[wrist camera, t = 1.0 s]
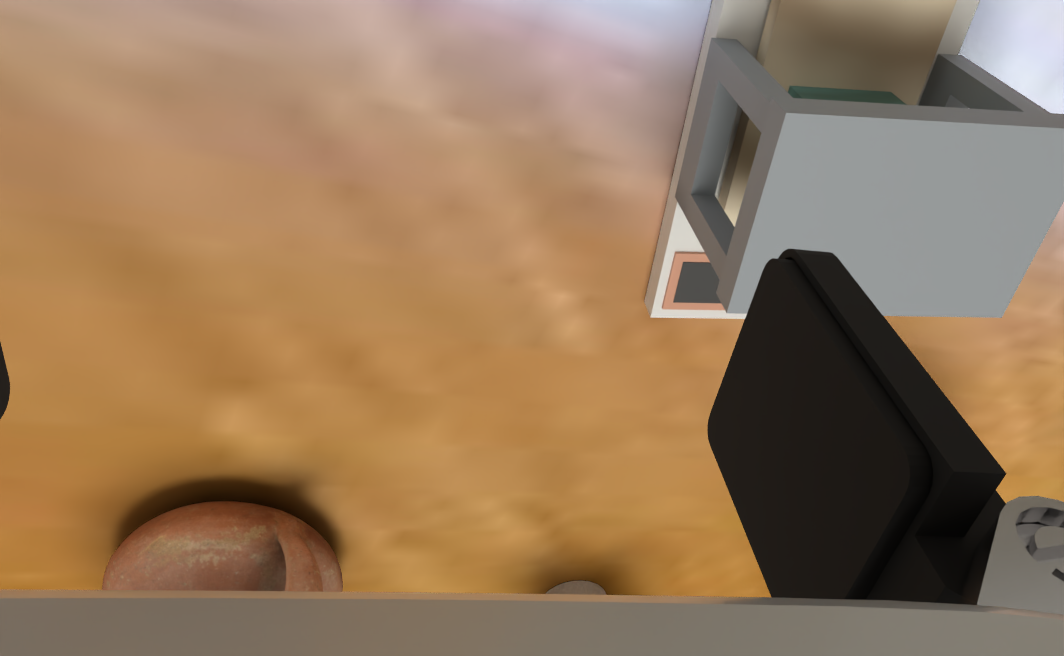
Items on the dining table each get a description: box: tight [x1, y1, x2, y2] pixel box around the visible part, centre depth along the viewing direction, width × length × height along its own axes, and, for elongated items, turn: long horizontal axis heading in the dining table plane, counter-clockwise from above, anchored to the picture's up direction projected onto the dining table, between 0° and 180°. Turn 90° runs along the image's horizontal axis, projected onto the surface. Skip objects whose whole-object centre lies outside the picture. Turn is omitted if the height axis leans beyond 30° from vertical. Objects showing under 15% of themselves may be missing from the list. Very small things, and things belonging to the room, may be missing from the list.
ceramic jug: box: [102, 501, 343, 592], centre depth 51 cm, size 18×14×14 cm
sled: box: [718, 0, 957, 227], centre depth 35 cm, size 21×8×8 cm, turn 174°
